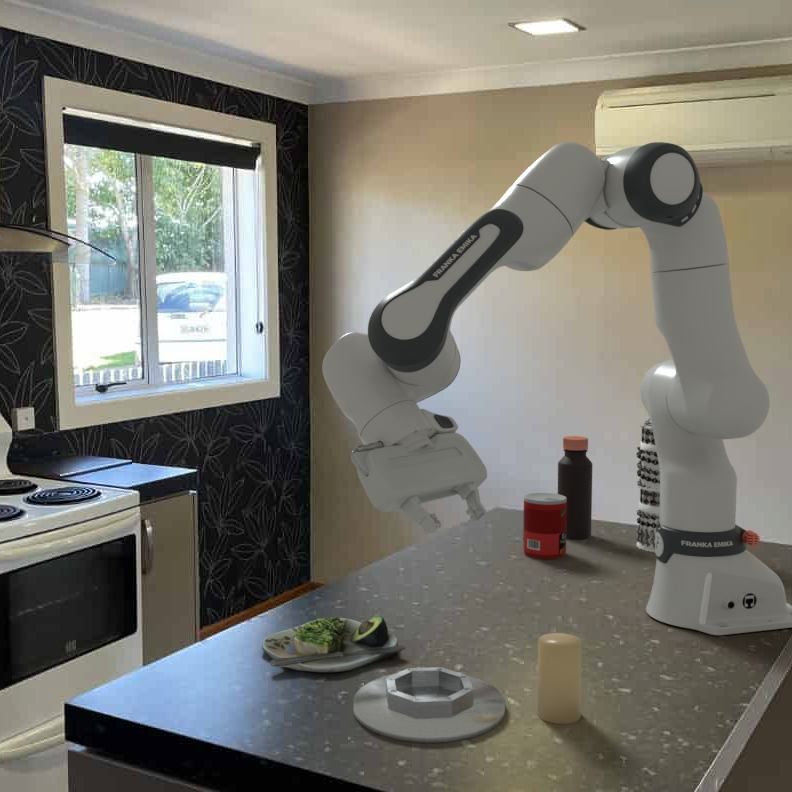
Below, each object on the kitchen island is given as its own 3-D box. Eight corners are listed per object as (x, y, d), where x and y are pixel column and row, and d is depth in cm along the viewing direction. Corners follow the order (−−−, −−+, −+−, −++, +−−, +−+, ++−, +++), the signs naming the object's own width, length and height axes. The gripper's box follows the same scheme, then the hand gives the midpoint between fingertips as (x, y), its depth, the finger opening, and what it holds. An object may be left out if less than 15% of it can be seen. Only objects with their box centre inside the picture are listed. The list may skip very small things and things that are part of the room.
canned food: (569, 559, 180) (570, 501, 179) (525, 559, 180) (526, 501, 179) (562, 548, 188) (563, 492, 187) (520, 548, 188) (521, 492, 187)
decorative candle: (624, 547, 189) (627, 418, 186) (651, 538, 195) (654, 414, 193) (666, 556, 182) (669, 423, 180) (692, 547, 189) (696, 418, 186)
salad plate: (309, 695, 121) (309, 659, 121) (229, 656, 134) (228, 624, 134) (421, 655, 134) (421, 623, 134) (337, 623, 147) (337, 594, 147)
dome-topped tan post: (574, 705, 117) (575, 632, 116) (585, 723, 112) (586, 647, 111) (533, 706, 117) (534, 633, 116) (542, 724, 112) (543, 649, 111)
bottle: (556, 539, 195) (558, 440, 193) (557, 531, 202) (558, 435, 199) (591, 540, 194) (593, 440, 192) (590, 532, 200) (592, 435, 198)
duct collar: (490, 676, 126) (491, 653, 126) (518, 739, 108) (518, 713, 108) (351, 680, 125) (351, 657, 125) (356, 745, 107) (355, 719, 107)
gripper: (358, 431, 119) (419, 523, 114) (460, 416, 134) (518, 496, 129) (332, 463, 123) (390, 553, 117) (434, 445, 138) (490, 524, 133)
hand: (458, 523), depth 123 cm, fingers open, 8 cm apart
